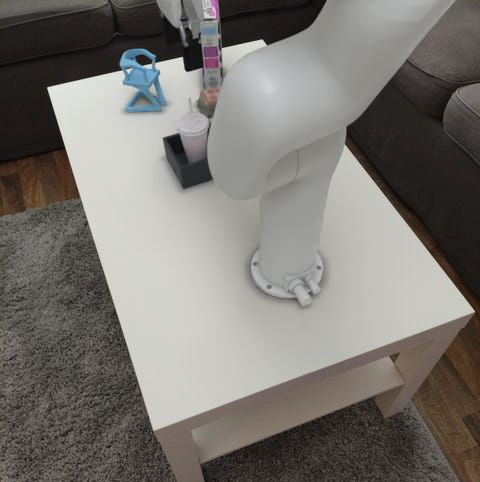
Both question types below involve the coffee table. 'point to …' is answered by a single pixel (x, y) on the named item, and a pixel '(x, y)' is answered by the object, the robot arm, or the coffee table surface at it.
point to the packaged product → (208, 102)
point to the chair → (142, 80)
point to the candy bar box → (211, 45)
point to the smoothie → (193, 134)
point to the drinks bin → (185, 162)
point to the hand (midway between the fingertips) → (184, 55)
